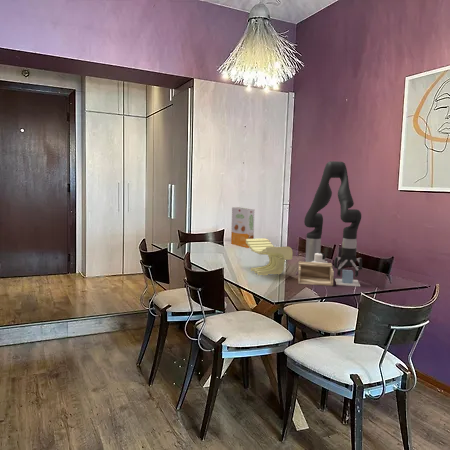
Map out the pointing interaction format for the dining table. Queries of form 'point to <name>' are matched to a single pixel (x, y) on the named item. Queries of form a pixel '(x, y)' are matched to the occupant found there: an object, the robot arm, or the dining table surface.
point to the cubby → (315, 273)
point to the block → (347, 276)
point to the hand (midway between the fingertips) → (347, 276)
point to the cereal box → (242, 226)
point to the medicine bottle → (319, 258)
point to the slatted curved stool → (274, 253)
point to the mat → (355, 283)
